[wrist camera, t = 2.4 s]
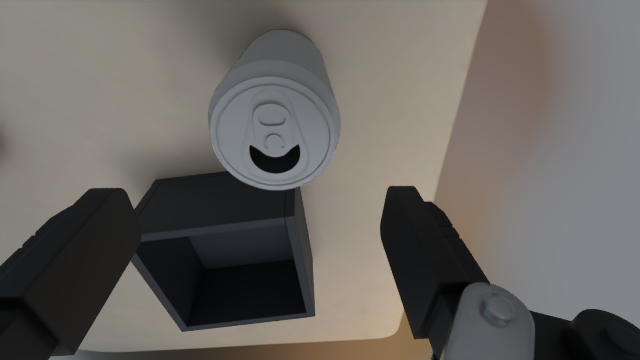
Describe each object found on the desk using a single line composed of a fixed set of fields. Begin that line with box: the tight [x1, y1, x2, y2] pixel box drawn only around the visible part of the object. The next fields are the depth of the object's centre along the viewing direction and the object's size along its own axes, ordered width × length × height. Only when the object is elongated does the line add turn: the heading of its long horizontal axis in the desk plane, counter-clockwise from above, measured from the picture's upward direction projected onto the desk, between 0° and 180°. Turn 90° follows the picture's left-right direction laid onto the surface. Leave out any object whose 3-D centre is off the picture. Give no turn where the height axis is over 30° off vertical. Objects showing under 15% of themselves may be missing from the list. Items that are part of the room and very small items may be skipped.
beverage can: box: [208, 30, 341, 190], centre depth 18 cm, size 6×6×12 cm
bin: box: [131, 171, 315, 332], centre depth 28 cm, size 14×14×8 cm
